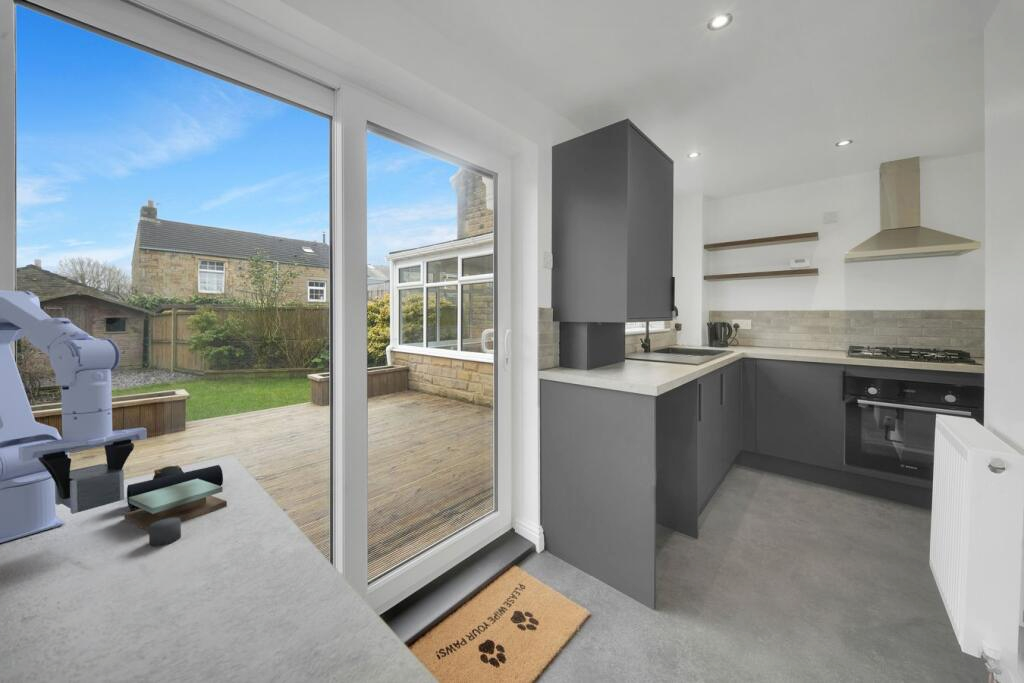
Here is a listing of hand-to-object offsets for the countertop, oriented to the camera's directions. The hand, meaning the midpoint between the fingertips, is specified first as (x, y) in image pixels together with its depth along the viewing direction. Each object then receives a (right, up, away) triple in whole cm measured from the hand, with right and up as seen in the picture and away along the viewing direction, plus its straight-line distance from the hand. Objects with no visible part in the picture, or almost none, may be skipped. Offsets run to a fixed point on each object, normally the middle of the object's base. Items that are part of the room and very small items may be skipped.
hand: (89, 491), depth 66 cm
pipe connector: (-4, -9, +21) cm, 23 cm away
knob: (+13, -8, 0) cm, 15 cm away
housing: (0, -2, 0) cm, 2 cm away
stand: (+6, -8, +11) cm, 15 cm away
